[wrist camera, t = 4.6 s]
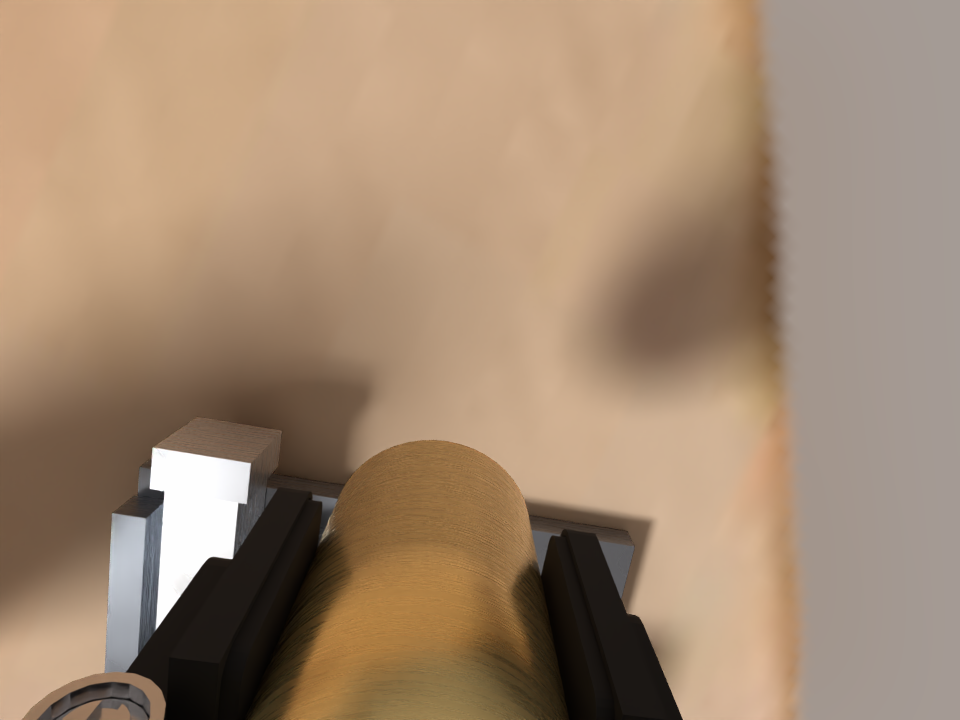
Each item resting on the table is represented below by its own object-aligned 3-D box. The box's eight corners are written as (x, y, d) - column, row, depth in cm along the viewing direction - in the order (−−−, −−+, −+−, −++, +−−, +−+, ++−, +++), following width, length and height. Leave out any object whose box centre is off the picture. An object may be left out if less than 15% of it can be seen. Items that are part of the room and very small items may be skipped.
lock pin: (197, 416, 18) (152, 447, 16) (282, 430, 18) (250, 463, 16) (178, 665, 20) (135, 727, 18) (254, 676, 20) (223, 740, 18)
